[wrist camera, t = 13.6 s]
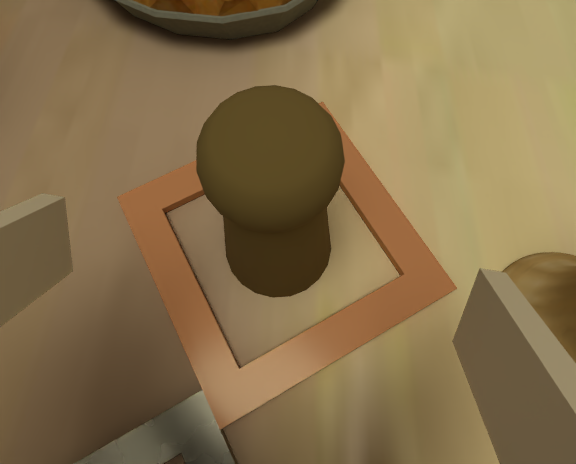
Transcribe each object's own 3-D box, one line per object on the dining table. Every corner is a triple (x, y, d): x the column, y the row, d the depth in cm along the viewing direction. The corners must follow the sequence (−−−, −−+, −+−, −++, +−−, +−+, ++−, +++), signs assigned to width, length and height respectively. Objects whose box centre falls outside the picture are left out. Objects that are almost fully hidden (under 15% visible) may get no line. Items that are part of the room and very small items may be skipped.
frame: (121, 201, 24) (117, 196, 23) (321, 107, 26) (322, 101, 26) (221, 428, 19) (220, 429, 19) (452, 290, 22) (457, 288, 21)
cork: (252, 183, 24) (224, 35, 14) (345, 219, 23) (389, 88, 13) (207, 272, 22) (134, 175, 12) (307, 314, 21) (322, 250, 11)
